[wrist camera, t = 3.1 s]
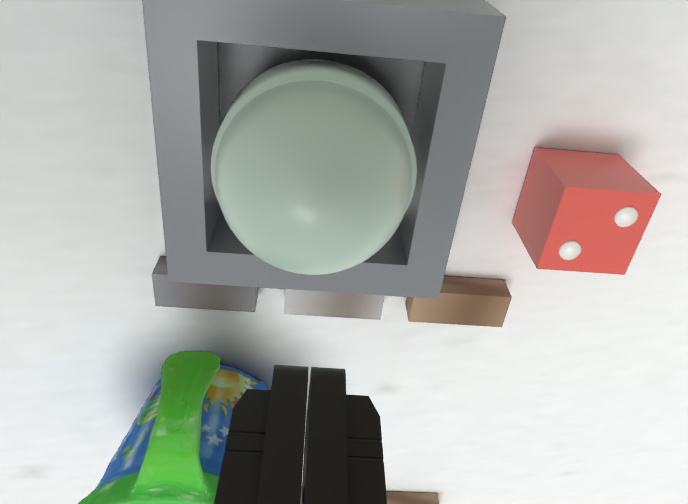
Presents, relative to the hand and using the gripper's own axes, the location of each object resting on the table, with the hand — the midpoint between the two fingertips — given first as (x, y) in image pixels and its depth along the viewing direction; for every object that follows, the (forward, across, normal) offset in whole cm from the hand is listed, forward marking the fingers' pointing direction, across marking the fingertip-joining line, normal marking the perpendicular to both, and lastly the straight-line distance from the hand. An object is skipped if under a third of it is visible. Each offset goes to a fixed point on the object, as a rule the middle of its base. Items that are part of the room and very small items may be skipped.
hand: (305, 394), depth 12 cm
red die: (+16, -12, +2) cm, 20 cm away
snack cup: (+16, +5, +18) cm, 24 cm away
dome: (+14, 0, 0) cm, 14 cm away
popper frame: (+15, 0, 0) cm, 15 cm away
